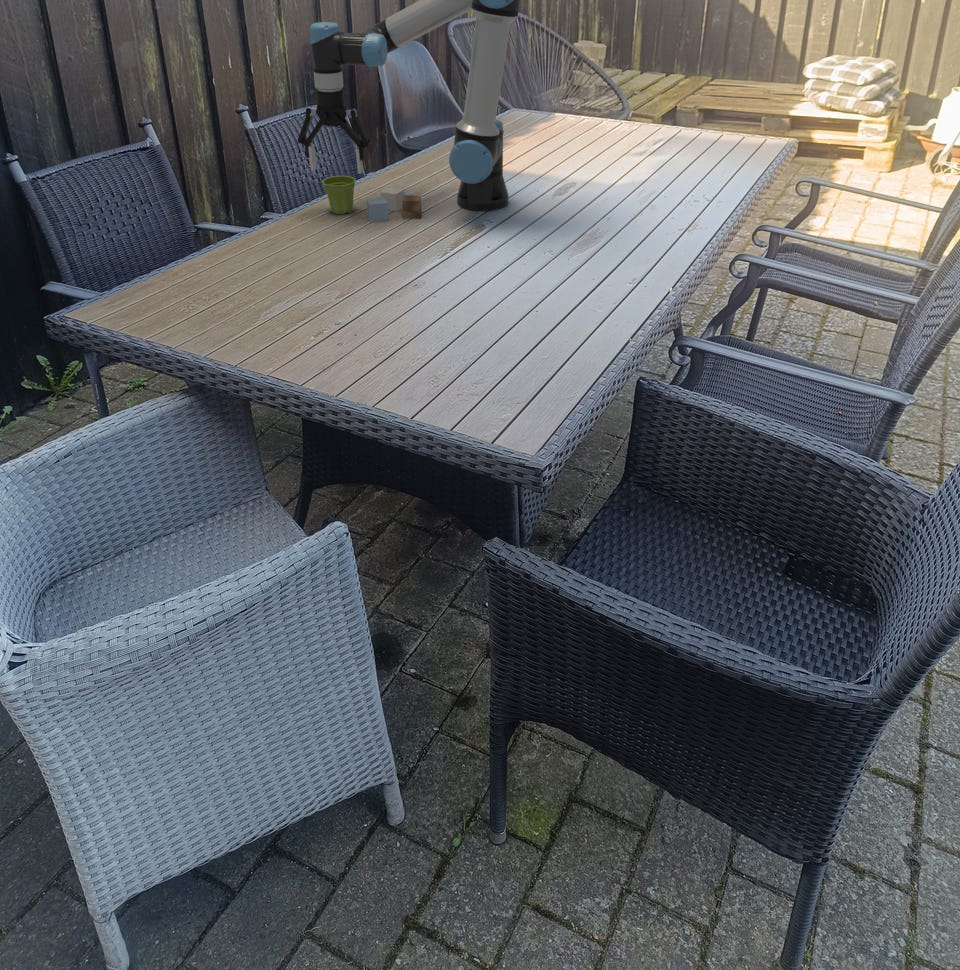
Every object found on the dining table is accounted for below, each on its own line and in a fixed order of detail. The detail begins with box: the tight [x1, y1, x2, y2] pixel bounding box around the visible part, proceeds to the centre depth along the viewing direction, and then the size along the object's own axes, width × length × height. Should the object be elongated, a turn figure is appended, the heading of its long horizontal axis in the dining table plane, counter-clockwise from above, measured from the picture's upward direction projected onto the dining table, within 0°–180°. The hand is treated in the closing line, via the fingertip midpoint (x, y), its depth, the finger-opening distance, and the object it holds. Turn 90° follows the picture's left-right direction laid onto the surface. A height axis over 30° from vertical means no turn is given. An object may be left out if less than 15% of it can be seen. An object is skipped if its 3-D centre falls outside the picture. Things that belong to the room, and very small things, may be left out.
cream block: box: [380, 187, 406, 212], centre depth 243 cm, size 5×5×5 cm
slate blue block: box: [365, 197, 389, 223], centre depth 236 cm, size 5×5×5 cm
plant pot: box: [322, 175, 357, 215], centre depth 240 cm, size 9×9×9 cm
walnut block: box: [402, 194, 423, 220], centre depth 238 cm, size 5×5×5 cm
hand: (336, 171), depth 236 cm, fingers open, 13 cm apart
